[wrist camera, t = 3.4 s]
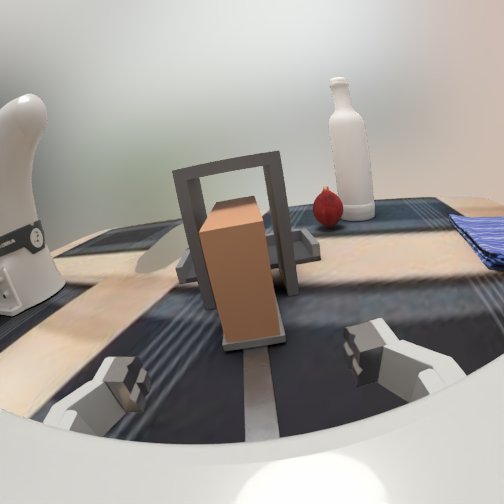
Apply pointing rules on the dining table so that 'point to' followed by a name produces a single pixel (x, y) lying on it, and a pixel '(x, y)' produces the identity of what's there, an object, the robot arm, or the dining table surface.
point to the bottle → (350, 156)
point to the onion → (328, 208)
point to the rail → (259, 396)
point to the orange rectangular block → (241, 274)
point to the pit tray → (303, 251)
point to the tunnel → (196, 215)
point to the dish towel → (483, 237)
